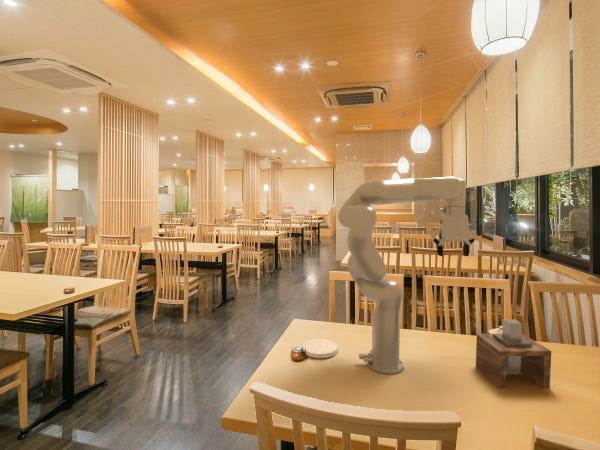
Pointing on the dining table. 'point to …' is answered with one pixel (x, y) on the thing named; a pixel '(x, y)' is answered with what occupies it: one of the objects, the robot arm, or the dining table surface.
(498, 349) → the slotted bridge
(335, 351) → the plastic lid
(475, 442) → the dining table surface
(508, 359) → the collared peg
